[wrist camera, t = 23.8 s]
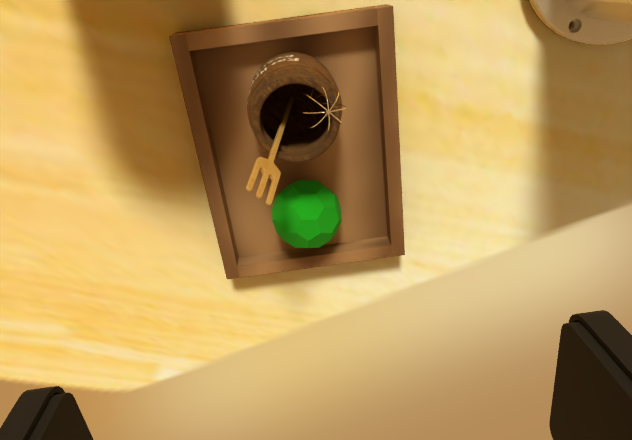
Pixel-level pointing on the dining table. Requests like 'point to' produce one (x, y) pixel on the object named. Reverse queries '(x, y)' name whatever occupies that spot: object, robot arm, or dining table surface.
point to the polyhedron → (306, 214)
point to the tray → (329, 168)
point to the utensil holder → (291, 114)
